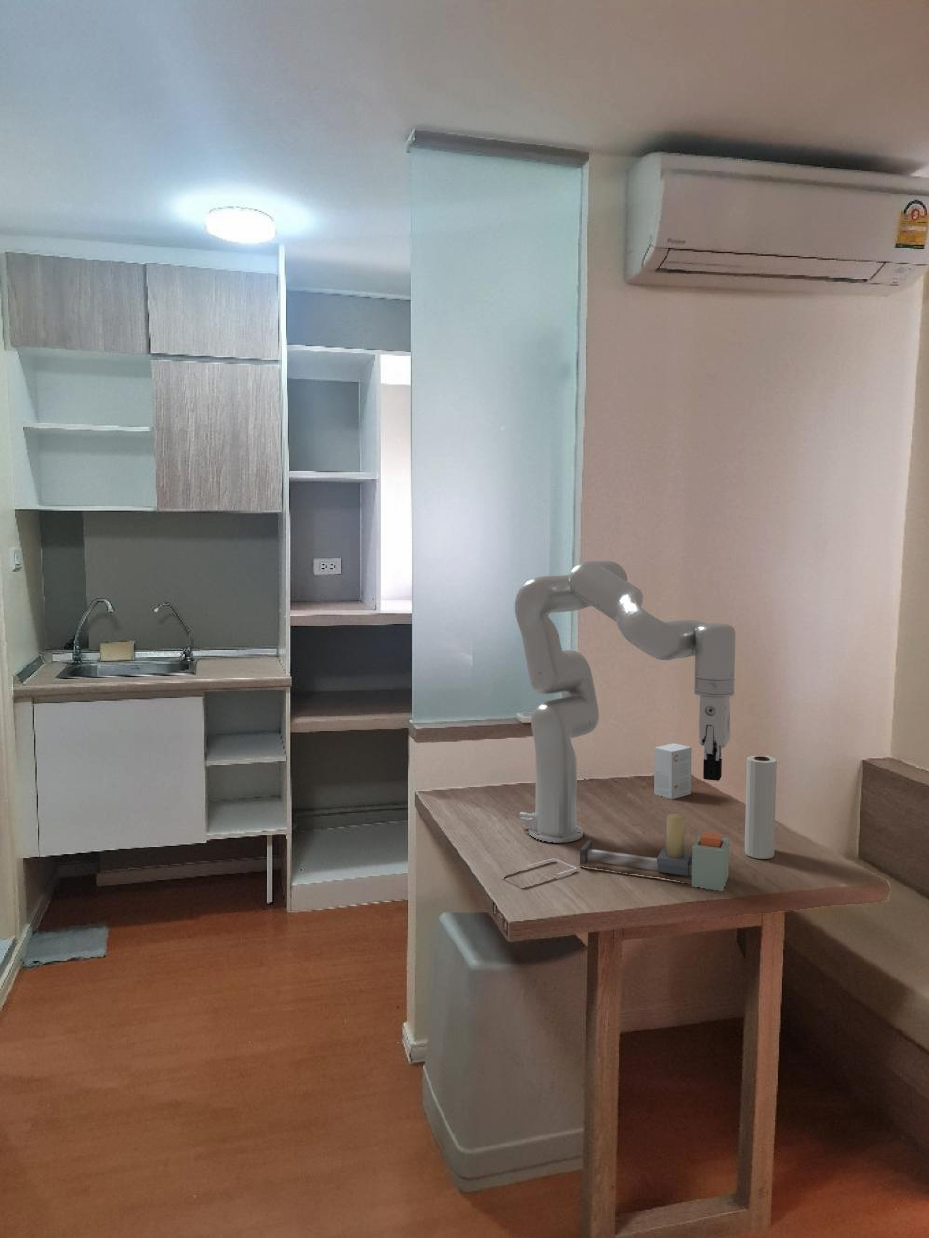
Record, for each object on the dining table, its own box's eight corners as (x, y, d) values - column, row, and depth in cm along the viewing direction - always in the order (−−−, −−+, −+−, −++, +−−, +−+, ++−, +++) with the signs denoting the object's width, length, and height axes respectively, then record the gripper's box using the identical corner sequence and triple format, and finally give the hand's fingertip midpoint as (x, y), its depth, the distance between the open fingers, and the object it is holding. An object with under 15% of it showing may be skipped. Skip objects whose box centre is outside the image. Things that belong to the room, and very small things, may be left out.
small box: (672, 789, 239) (673, 742, 238) (691, 794, 234) (692, 746, 233) (653, 794, 234) (653, 746, 233) (671, 800, 229) (672, 751, 228)
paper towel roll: (758, 861, 185) (760, 762, 183) (738, 852, 191) (740, 756, 189) (784, 856, 188) (787, 759, 186) (764, 847, 193) (766, 752, 192)
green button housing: (691, 886, 172) (692, 847, 171) (697, 872, 179) (698, 834, 178) (723, 891, 169) (723, 851, 169) (728, 876, 177) (729, 838, 176)
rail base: (579, 867, 182) (580, 849, 182) (587, 858, 187) (587, 840, 187) (692, 884, 173) (692, 865, 172) (697, 874, 178) (697, 855, 178)
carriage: (656, 873, 175) (657, 818, 174) (662, 863, 181) (663, 810, 180) (687, 877, 173) (688, 822, 172) (692, 867, 178) (693, 813, 177)
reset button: (700, 852, 173) (700, 837, 172) (702, 846, 176) (703, 831, 176) (718, 855, 171) (719, 839, 171) (721, 849, 175) (721, 833, 174)
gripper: (729, 694, 162) (727, 790, 164) (738, 682, 176) (736, 771, 178) (688, 691, 165) (686, 786, 167) (700, 679, 179) (698, 767, 181)
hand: (712, 778), depth 172 cm, fingers closed
